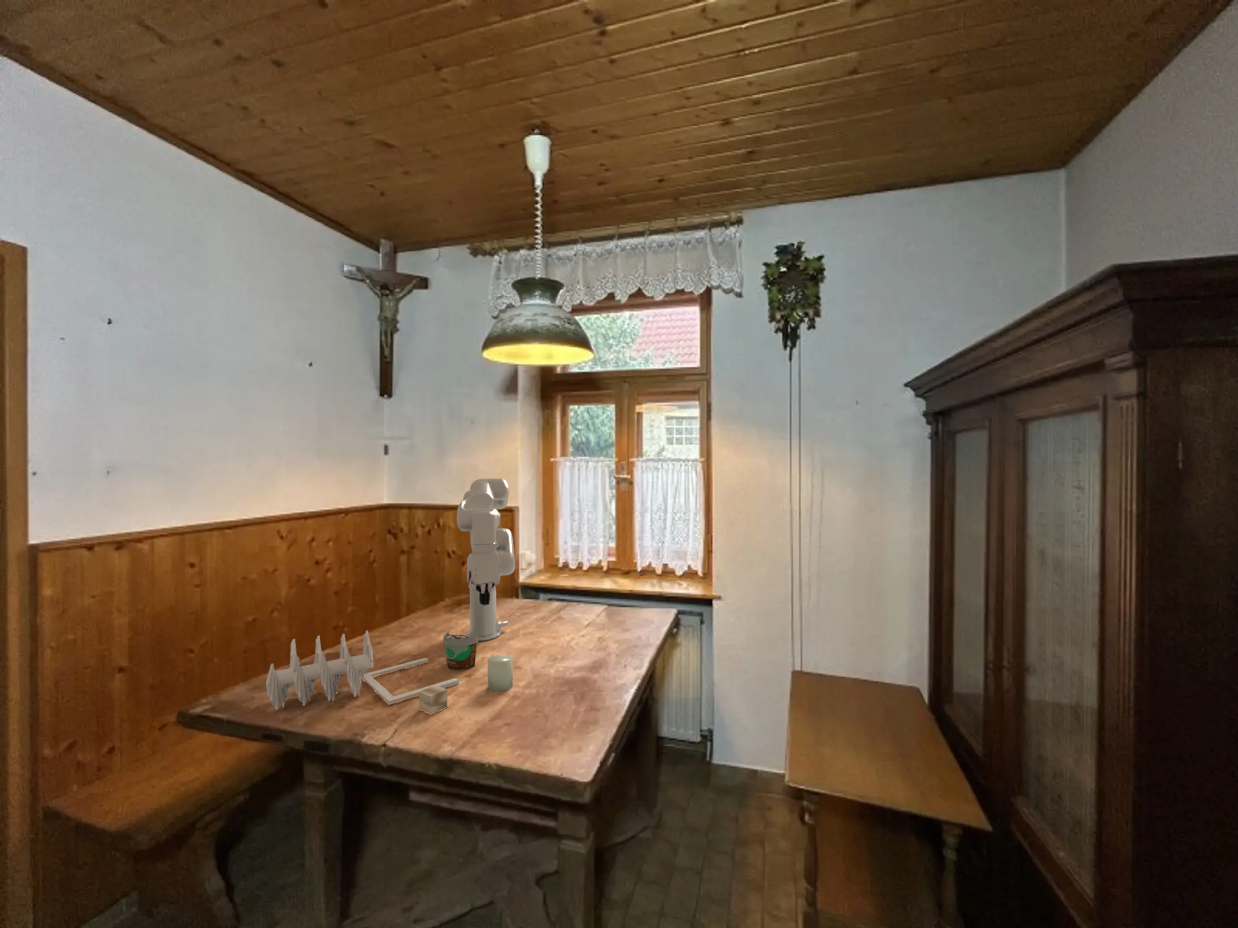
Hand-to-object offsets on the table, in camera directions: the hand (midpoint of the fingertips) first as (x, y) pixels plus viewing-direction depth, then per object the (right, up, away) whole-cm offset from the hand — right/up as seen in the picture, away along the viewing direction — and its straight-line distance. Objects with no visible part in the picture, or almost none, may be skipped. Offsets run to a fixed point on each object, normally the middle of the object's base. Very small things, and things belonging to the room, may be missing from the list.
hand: (484, 604), depth 175 cm
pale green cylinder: (+10, -19, -21) cm, 29 cm away
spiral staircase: (-37, -19, -28) cm, 51 cm away
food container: (-7, -19, -6) cm, 21 cm away
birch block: (-5, -19, -34) cm, 39 cm away
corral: (-18, -19, -16) cm, 30 cm away
